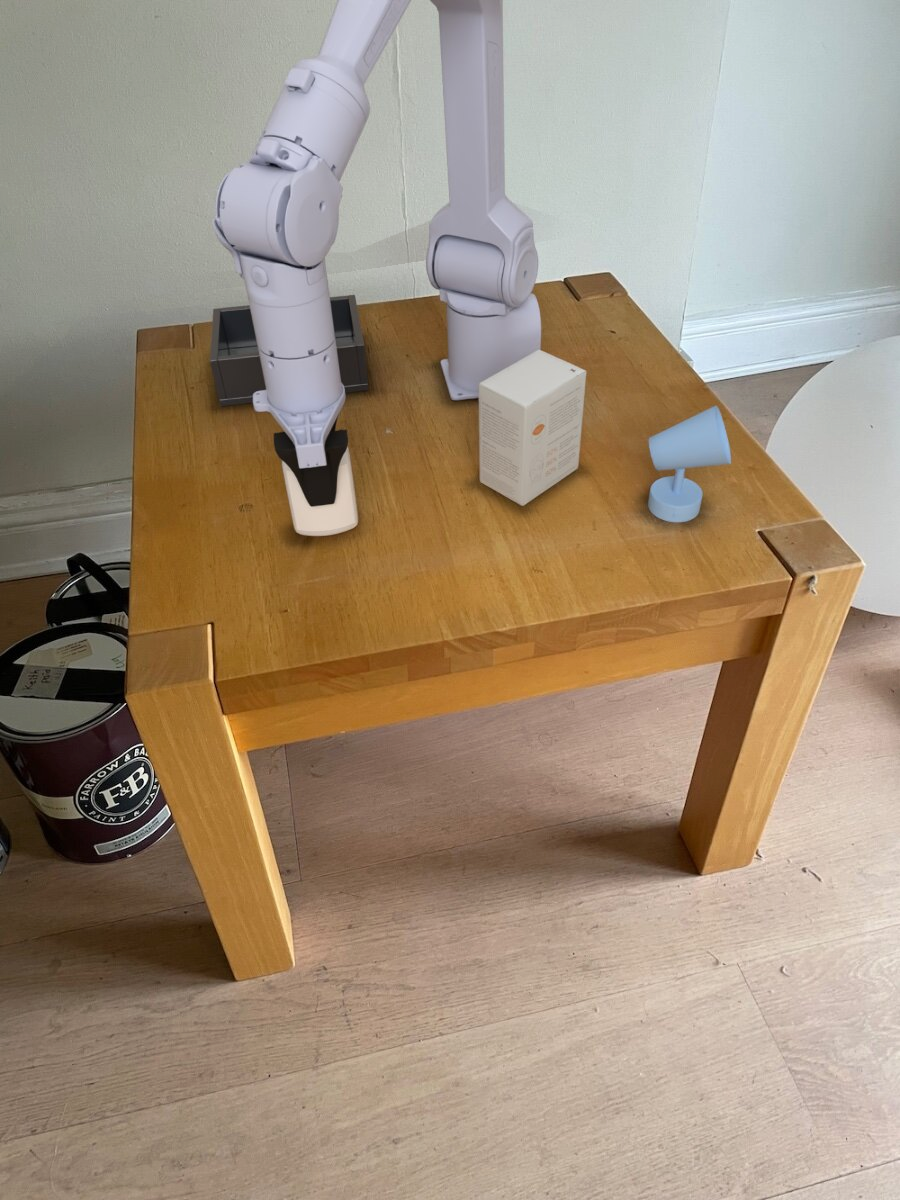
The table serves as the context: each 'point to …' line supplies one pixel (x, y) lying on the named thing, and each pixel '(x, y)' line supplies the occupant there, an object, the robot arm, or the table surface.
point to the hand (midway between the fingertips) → (320, 488)
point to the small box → (530, 425)
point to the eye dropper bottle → (325, 516)
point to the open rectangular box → (241, 360)
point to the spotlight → (686, 463)
